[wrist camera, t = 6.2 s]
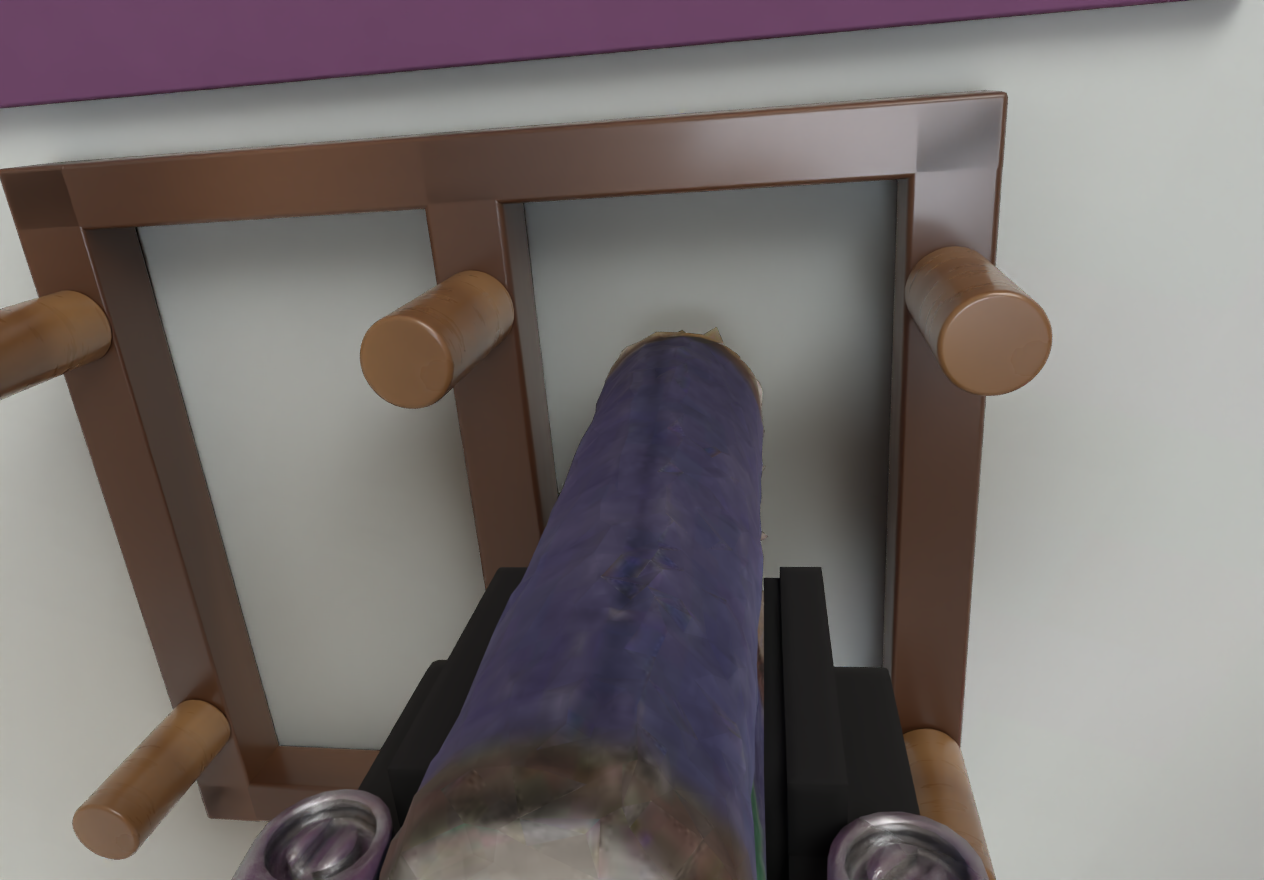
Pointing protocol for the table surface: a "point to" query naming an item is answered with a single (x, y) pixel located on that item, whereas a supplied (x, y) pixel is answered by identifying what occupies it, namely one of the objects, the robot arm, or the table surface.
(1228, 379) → the table surface
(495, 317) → the dish rack
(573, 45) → the mat
